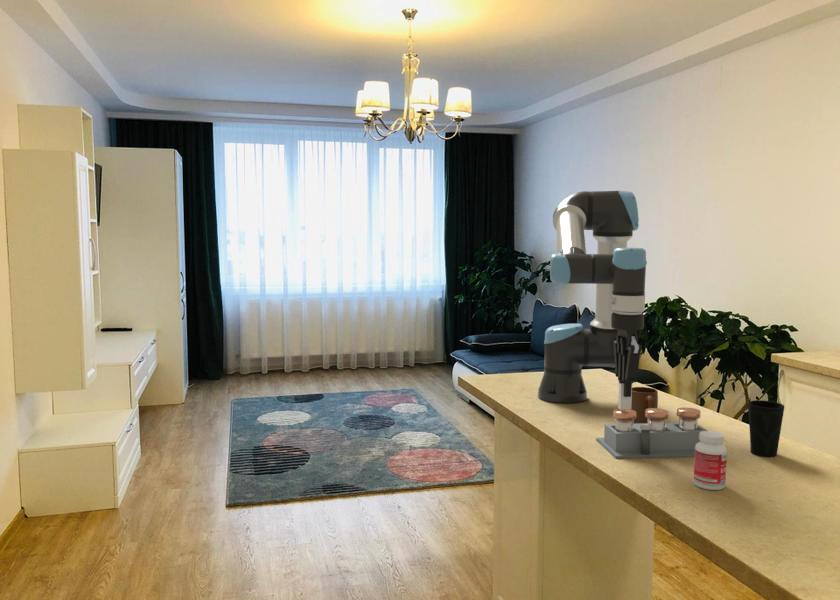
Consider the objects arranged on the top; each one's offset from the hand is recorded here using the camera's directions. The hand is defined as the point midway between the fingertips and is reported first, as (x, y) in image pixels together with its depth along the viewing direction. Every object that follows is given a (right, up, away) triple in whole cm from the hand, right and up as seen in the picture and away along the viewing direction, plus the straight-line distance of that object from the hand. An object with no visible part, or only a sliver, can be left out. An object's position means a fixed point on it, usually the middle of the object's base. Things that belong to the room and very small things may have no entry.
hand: (624, 408), depth 167 cm
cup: (+32, -10, -3) cm, 34 cm away
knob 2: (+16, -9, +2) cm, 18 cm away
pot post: (+3, -10, -5) cm, 11 cm away
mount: (+8, -10, +1) cm, 13 cm away
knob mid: (+8, -9, +1) cm, 12 cm away
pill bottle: (+11, -13, -23) cm, 29 cm away
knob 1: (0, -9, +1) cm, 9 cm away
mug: (+12, -8, +21) cm, 25 cm away
